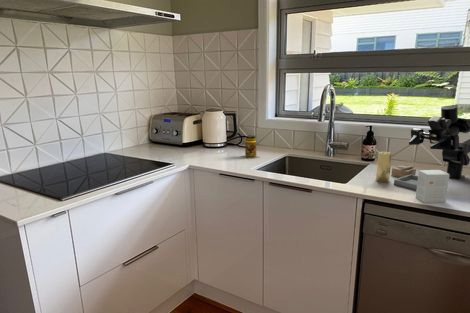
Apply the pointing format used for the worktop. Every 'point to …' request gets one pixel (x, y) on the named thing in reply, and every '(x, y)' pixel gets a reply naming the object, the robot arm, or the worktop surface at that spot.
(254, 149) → the condiment
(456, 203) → the worktop surface
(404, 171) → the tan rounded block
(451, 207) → the worktop surface
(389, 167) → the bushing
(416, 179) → the tray
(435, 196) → the small box
